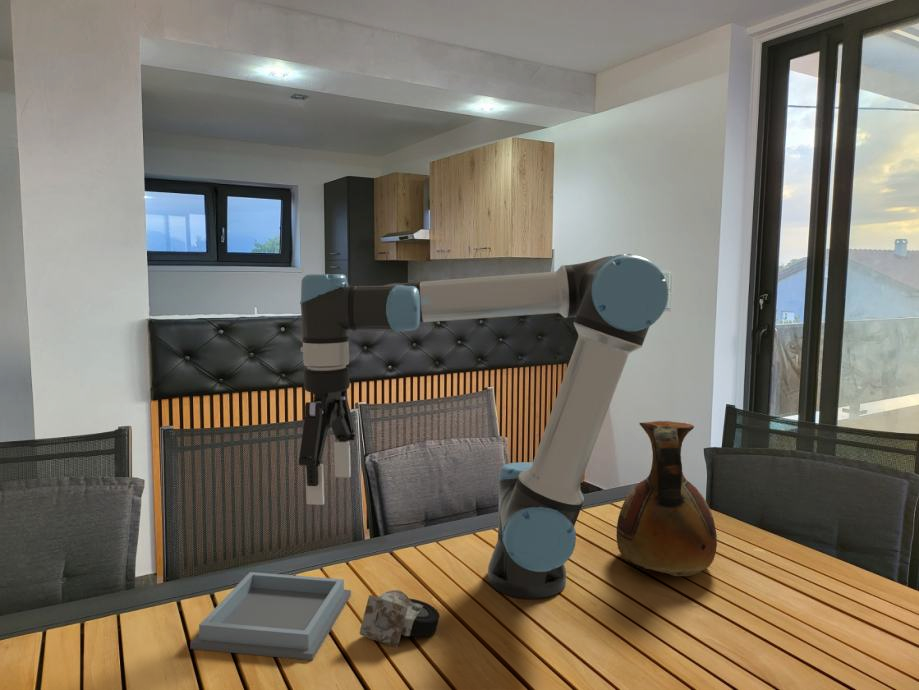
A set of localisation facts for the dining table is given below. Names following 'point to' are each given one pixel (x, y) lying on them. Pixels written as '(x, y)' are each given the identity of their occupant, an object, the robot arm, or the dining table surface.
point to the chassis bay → (274, 616)
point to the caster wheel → (397, 618)
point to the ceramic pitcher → (667, 511)
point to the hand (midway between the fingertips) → (330, 489)
